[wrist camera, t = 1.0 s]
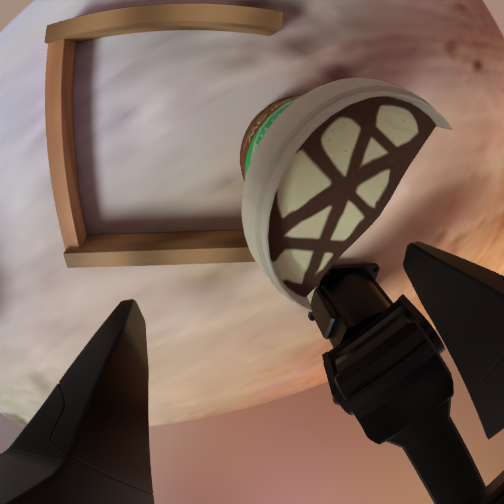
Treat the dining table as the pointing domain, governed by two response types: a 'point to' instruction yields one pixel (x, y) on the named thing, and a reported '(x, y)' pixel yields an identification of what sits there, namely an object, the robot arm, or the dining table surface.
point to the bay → (63, 148)
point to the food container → (325, 174)
